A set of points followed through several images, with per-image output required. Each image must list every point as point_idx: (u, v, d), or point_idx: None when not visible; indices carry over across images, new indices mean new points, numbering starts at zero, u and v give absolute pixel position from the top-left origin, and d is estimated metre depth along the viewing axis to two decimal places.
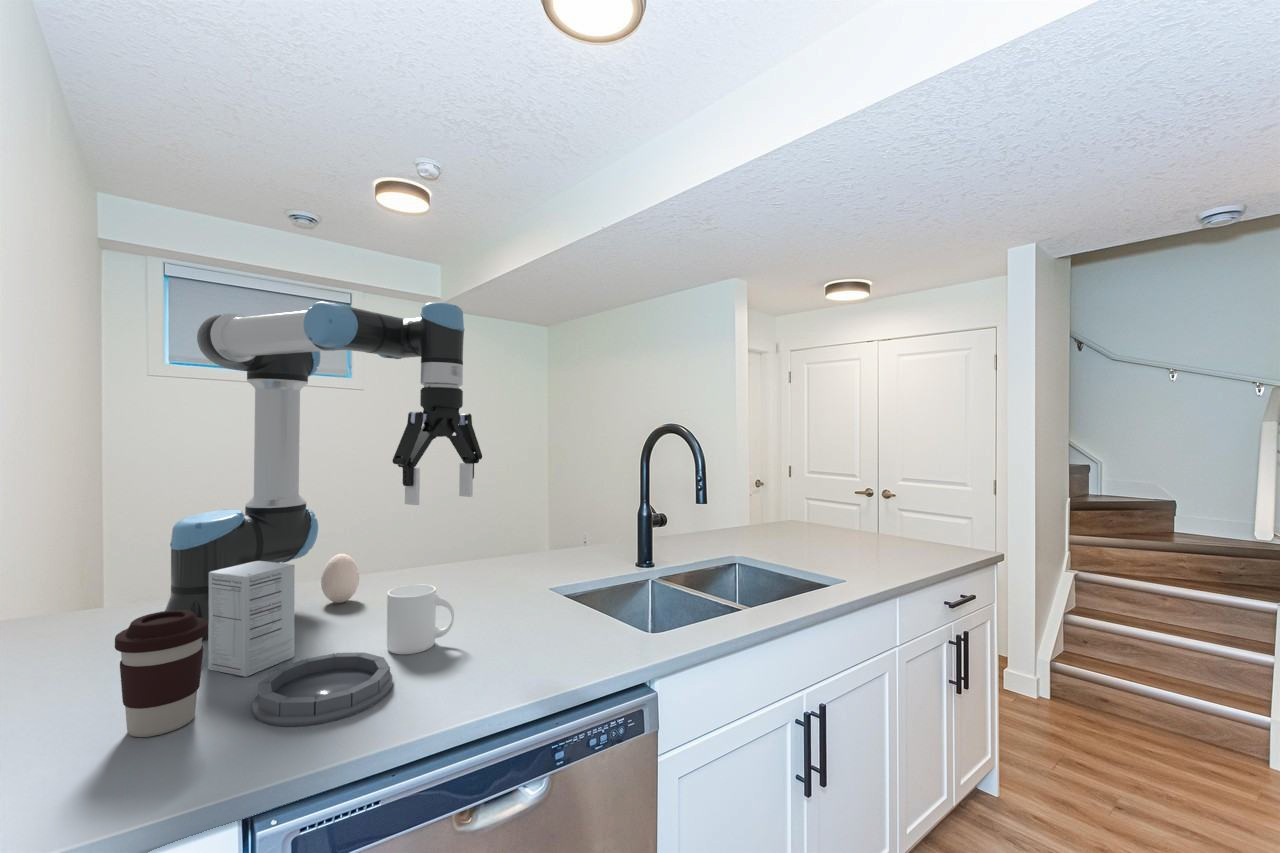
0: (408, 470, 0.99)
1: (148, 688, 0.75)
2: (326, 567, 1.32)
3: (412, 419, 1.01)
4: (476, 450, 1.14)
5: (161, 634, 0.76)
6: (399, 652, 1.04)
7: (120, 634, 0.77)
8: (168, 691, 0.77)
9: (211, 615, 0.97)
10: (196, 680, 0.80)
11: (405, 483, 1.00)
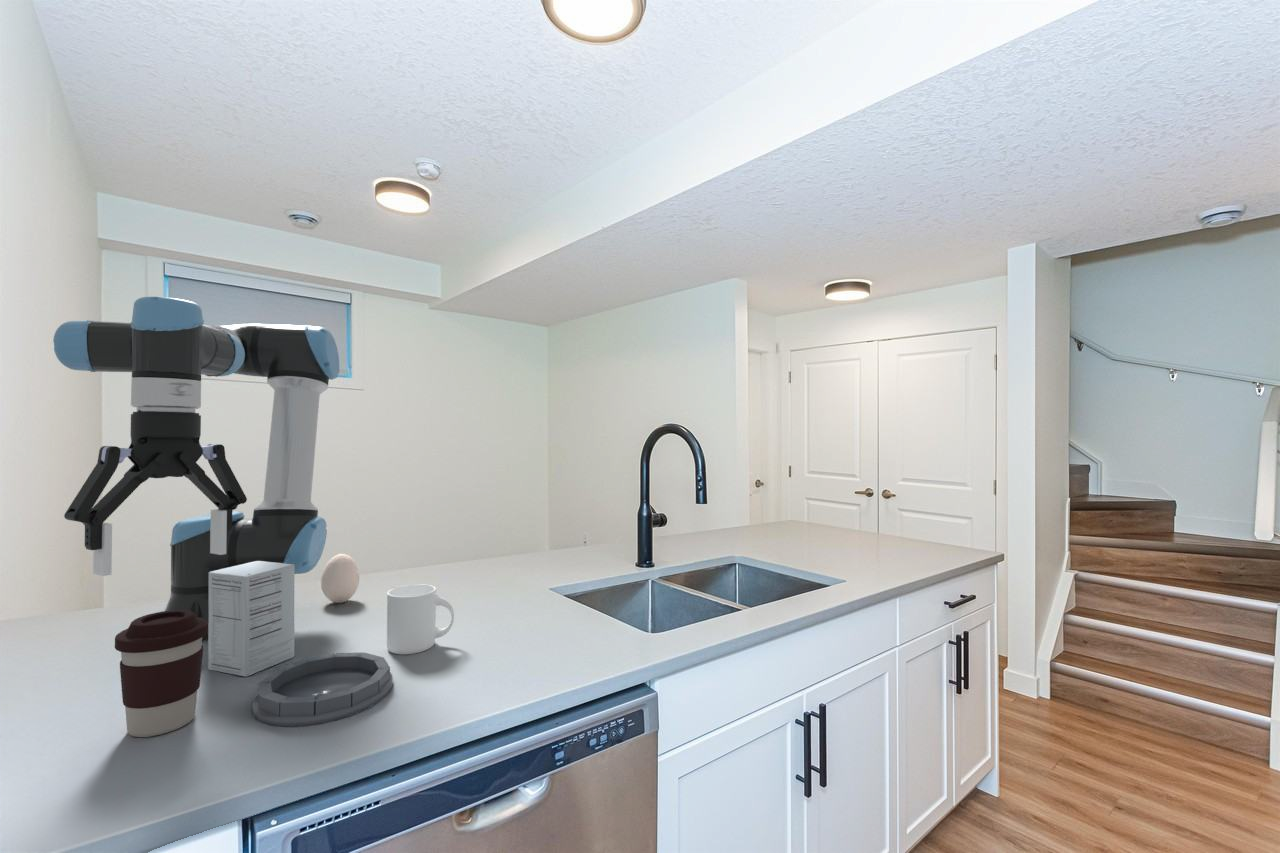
0: (90, 528, 0.72)
1: (148, 688, 0.75)
2: (326, 567, 1.32)
3: (102, 457, 0.73)
4: (235, 492, 0.87)
5: (161, 634, 0.76)
6: (399, 652, 1.04)
7: (120, 634, 0.77)
8: (168, 691, 0.77)
9: (211, 615, 0.97)
10: (196, 680, 0.80)
11: (87, 546, 0.72)
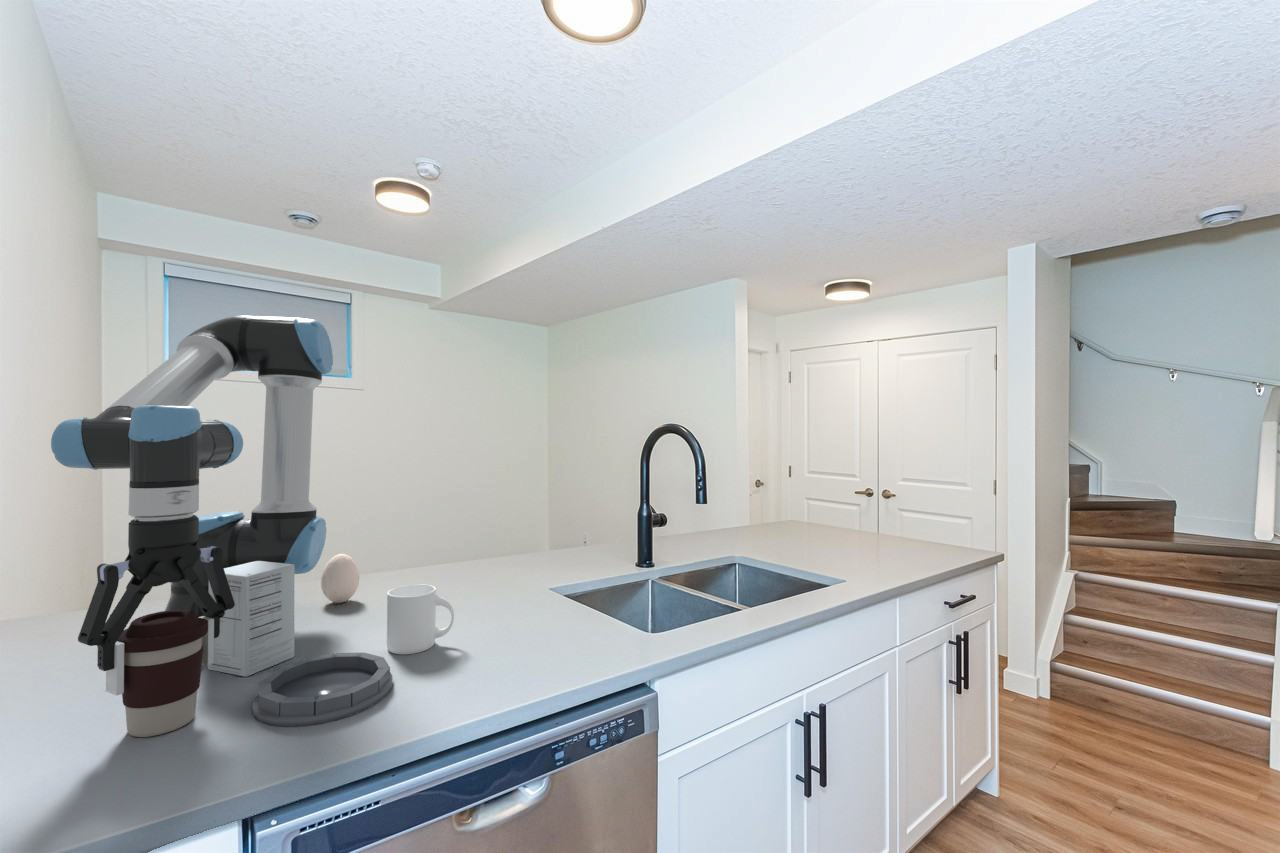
0: (103, 650, 0.73)
1: (148, 688, 0.75)
2: (326, 567, 1.32)
3: (101, 577, 0.73)
4: (224, 597, 0.85)
5: (161, 634, 0.76)
6: (399, 652, 1.04)
7: None
8: (168, 691, 0.77)
9: None
10: (196, 680, 0.80)
11: (100, 667, 0.73)
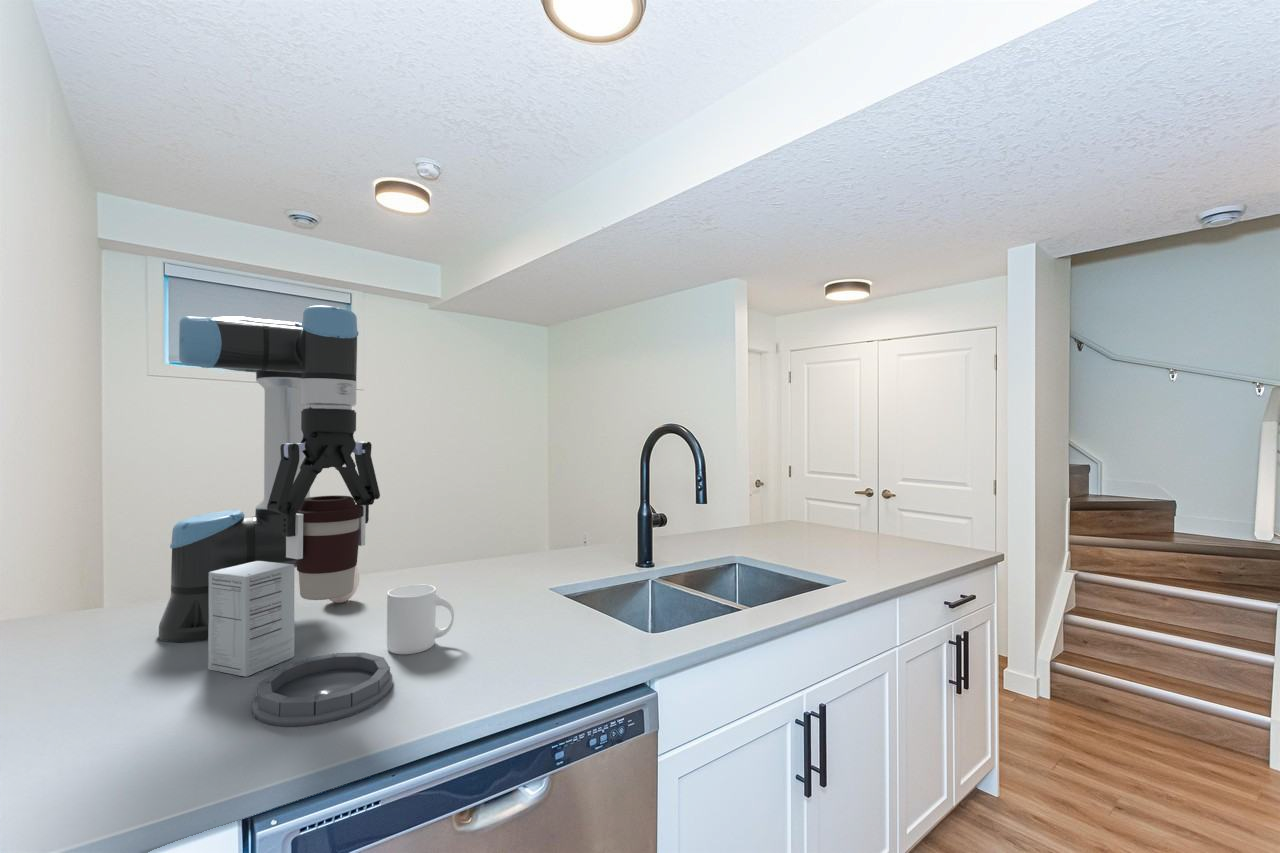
0: (287, 518, 0.82)
1: (322, 555, 0.85)
2: None
3: (285, 453, 0.83)
4: (372, 487, 0.95)
5: (332, 508, 0.86)
6: (399, 652, 1.04)
7: None
8: (338, 560, 0.86)
9: (211, 615, 0.97)
10: (356, 555, 0.90)
11: (284, 533, 0.83)
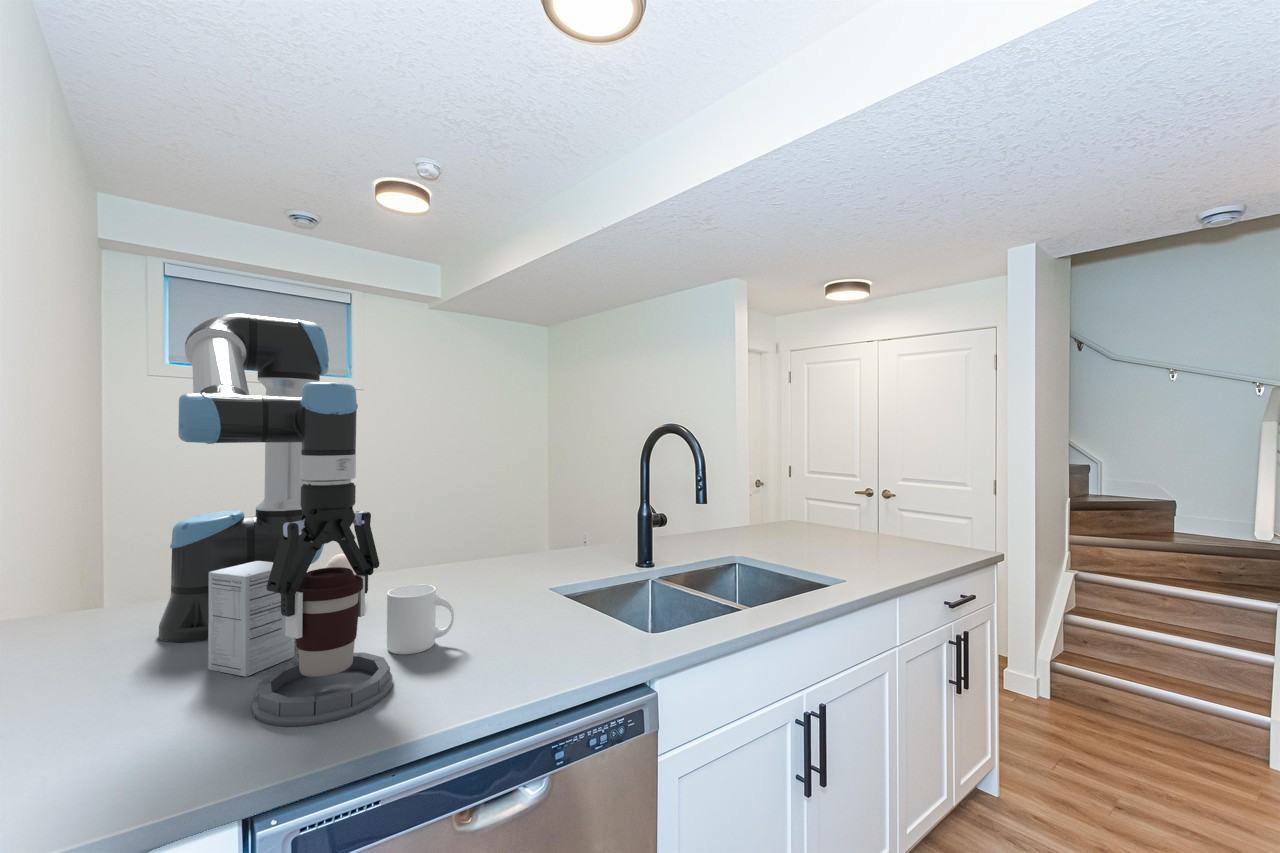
0: (287, 597, 0.82)
1: (322, 633, 0.85)
2: (326, 567, 1.32)
3: (285, 533, 0.83)
4: (372, 557, 0.95)
5: (331, 585, 0.86)
6: (399, 652, 1.04)
7: None
8: (337, 636, 0.86)
9: (211, 615, 0.97)
10: (356, 629, 0.89)
11: (284, 613, 0.83)
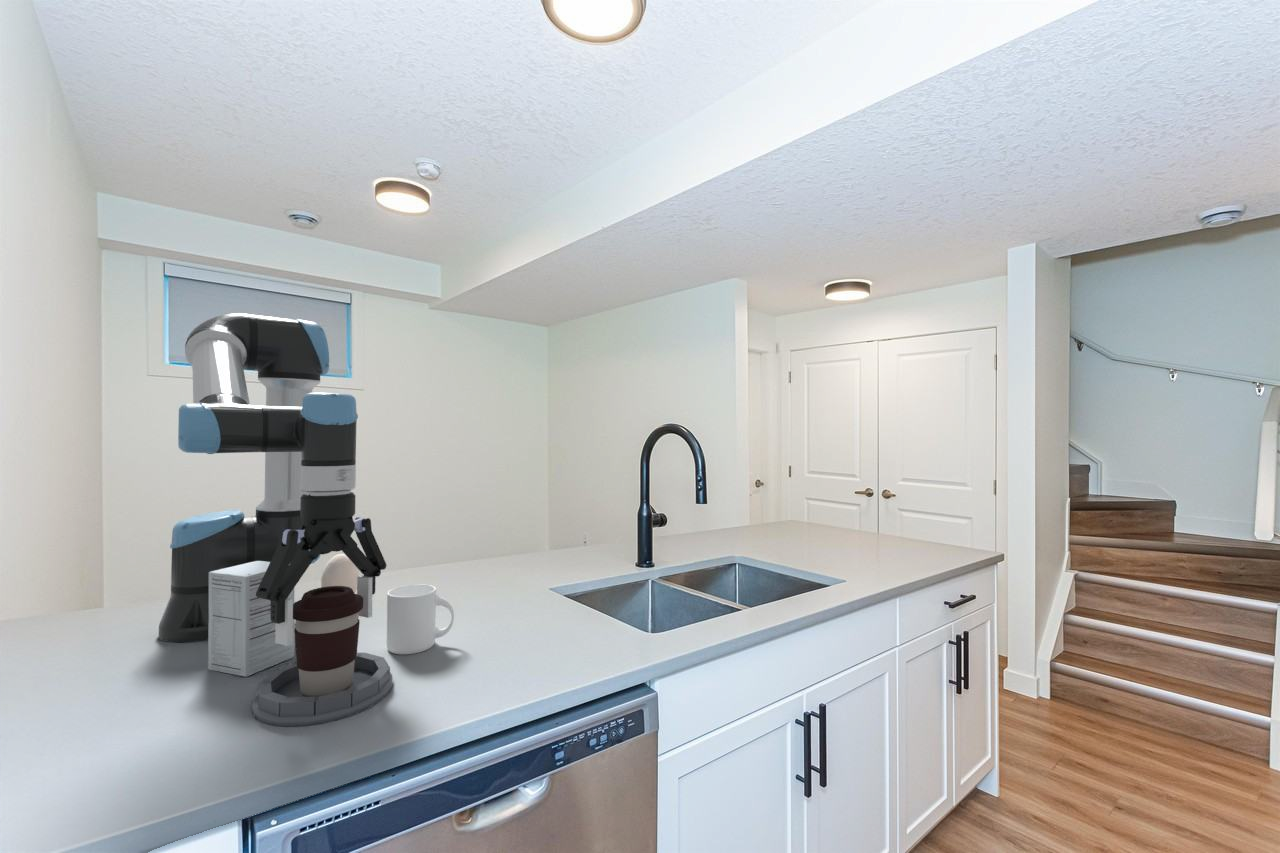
0: (277, 604, 0.81)
1: (322, 653, 0.85)
2: (326, 567, 1.32)
3: (284, 539, 0.82)
4: (378, 560, 0.96)
5: (332, 605, 0.86)
6: (399, 652, 1.04)
7: (294, 606, 0.86)
8: (338, 656, 0.86)
9: (211, 615, 0.97)
10: (356, 648, 0.90)
11: (273, 620, 0.81)
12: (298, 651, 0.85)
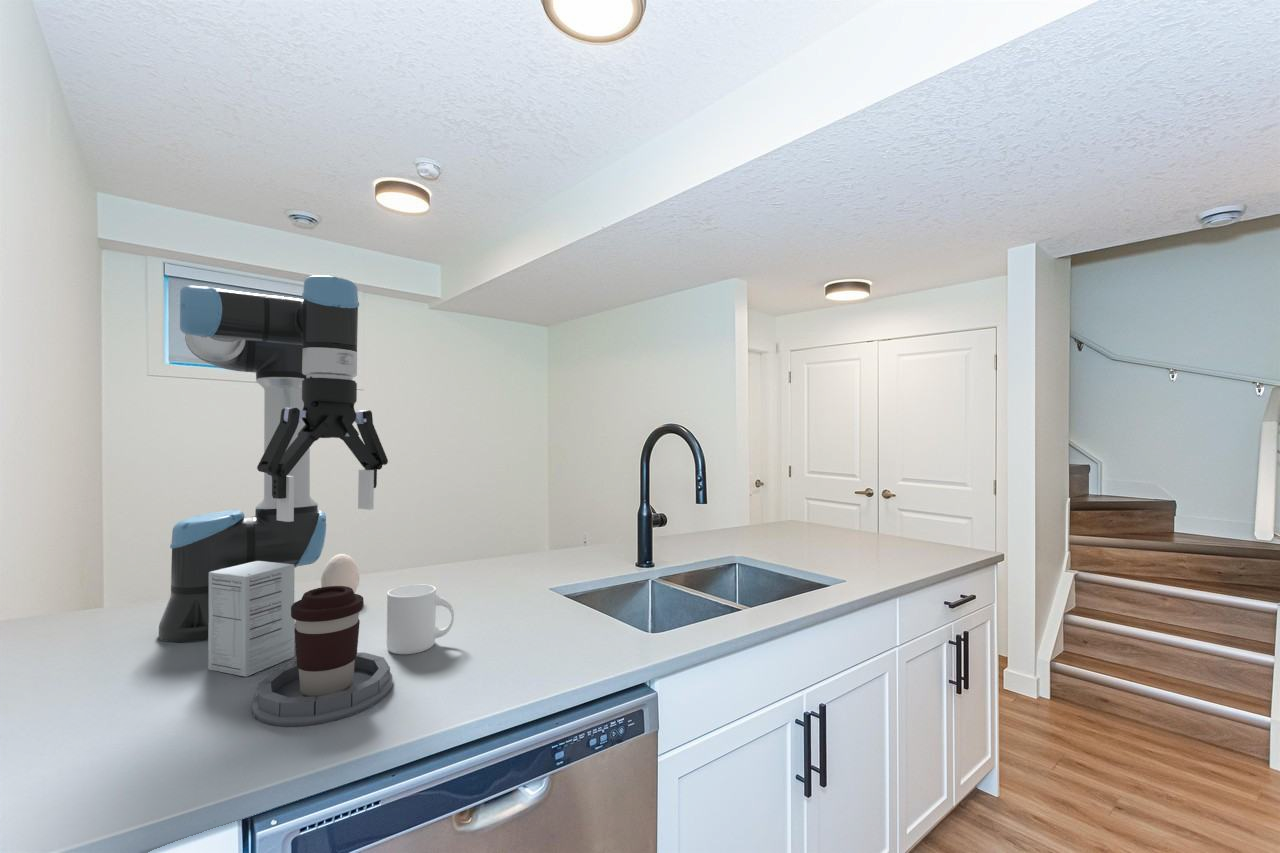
0: (278, 479, 0.81)
1: (322, 653, 0.85)
2: (326, 567, 1.32)
3: (285, 417, 0.83)
4: (379, 454, 0.96)
5: (332, 605, 0.86)
6: (399, 652, 1.04)
7: (294, 606, 0.86)
8: (338, 656, 0.86)
9: (211, 615, 0.97)
10: (356, 648, 0.90)
11: (275, 495, 0.81)
12: (298, 651, 0.85)
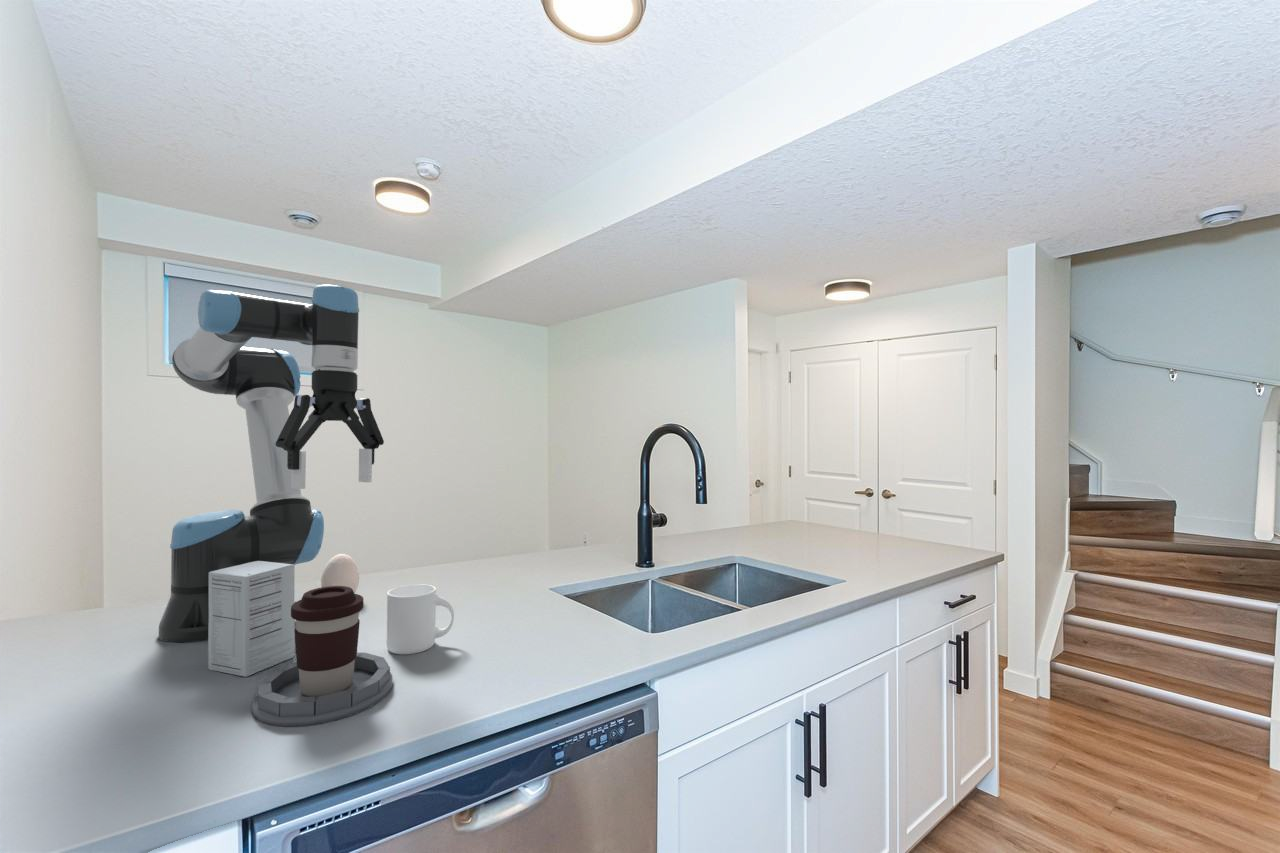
0: (292, 453, 0.98)
1: (322, 653, 0.85)
2: (326, 567, 1.32)
3: (298, 402, 1.00)
4: (376, 435, 1.13)
5: (332, 605, 0.86)
6: (399, 652, 1.04)
7: (294, 606, 0.86)
8: (338, 656, 0.86)
9: (211, 615, 0.97)
10: (356, 648, 0.90)
11: (290, 466, 0.98)
12: (298, 651, 0.85)
